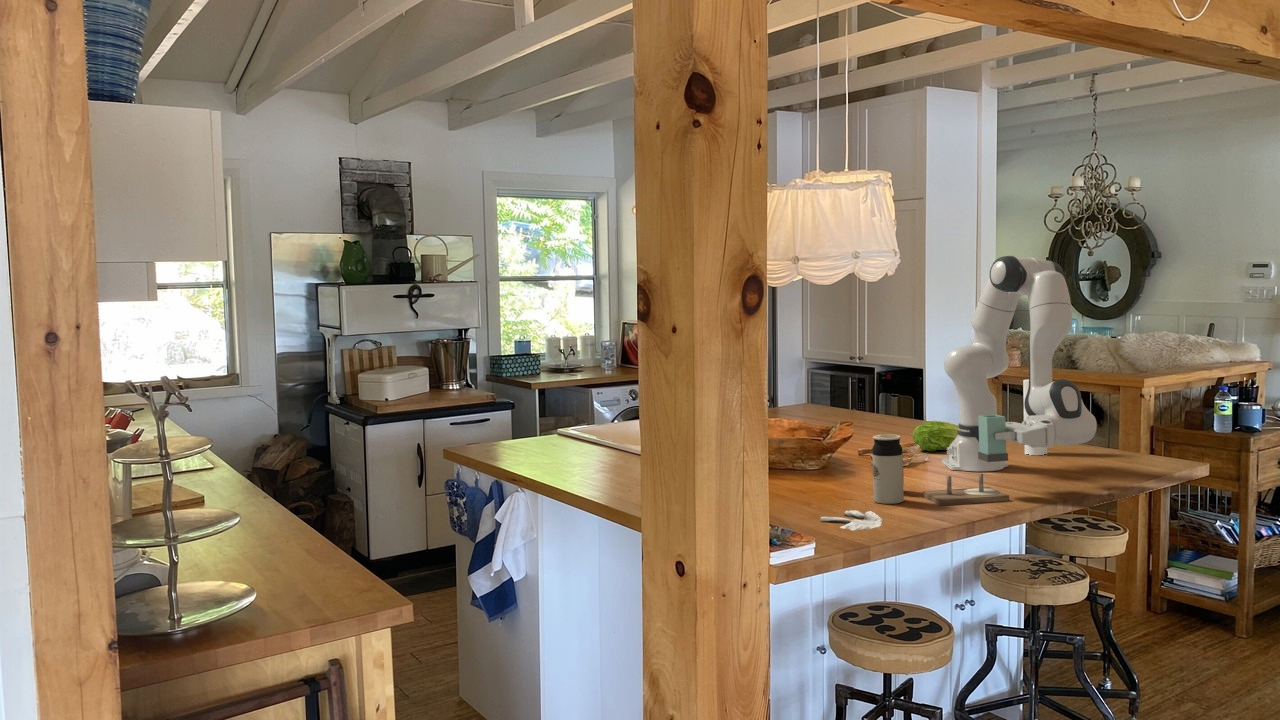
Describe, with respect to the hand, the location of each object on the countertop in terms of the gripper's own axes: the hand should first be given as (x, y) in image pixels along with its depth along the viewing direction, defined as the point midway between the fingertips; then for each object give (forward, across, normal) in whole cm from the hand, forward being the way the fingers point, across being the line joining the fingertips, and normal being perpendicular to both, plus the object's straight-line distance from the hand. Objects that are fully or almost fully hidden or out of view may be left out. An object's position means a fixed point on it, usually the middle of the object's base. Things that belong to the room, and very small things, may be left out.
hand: (989, 434), depth 270 cm
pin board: (+8, +1, +17) cm, 19 cm away
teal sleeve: (-1, 0, +7) cm, 7 cm away
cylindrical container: (-44, -57, +17) cm, 74 cm away
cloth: (+44, +14, +18) cm, 50 cm away
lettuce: (-21, -77, +17) cm, 81 cm away
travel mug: (+28, -2, +17) cm, 33 cm away
